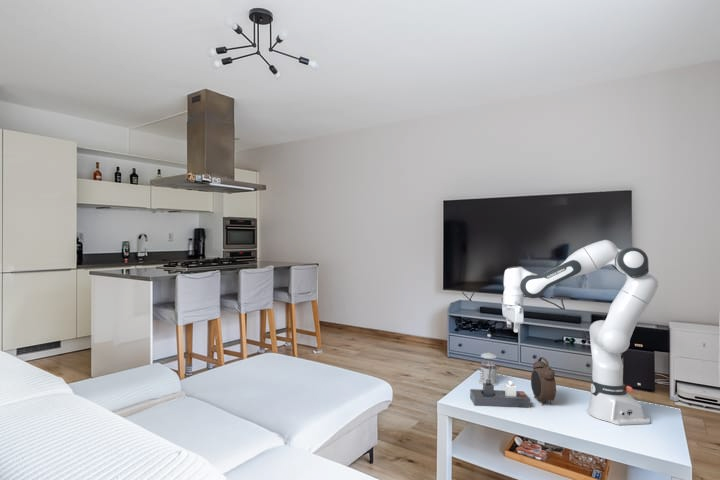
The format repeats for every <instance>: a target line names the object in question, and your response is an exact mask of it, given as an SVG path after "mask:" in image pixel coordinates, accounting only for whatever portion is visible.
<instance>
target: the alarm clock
mask: <svg viewBox="0 0 720 480" xmlns="http://www.w3.org/2000/svg"><path fill="white" fill-rule="evenodd" d="M542 360H543V361H542ZM532 368H533V369H532V371H531V375H530V377H531V378H530V386H531V391H532V393H533V396H534V397H533V398H534V399H536V400H537V401H540V402H541V406H542V407H543V406H544V402H549V404H550V405H552V402H553V401H554V400H555V398H556V395H557V385H556V379H555V376H556V375H555V373H556V372H555V370H554V369H553V368H551V367H550V365H549V361H548V359H546V357H544V356H540V357H539V358H537V361H534V362H533V366H532Z"/></svg>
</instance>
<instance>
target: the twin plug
mask: <svg viewBox="0 0 720 480" xmlns="http://www.w3.org/2000/svg"><path fill="white" fill-rule="evenodd" d="M482 390H483V395H494V390H495V386H493V384H491V380H489V379H487V380H486V383H483V385H482Z"/></svg>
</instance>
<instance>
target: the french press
mask: <svg viewBox="0 0 720 480" xmlns="http://www.w3.org/2000/svg"><path fill="white" fill-rule="evenodd" d="M486 336H487V337H488V338H491V337H492V335H491V333H488V334H487V335H486ZM480 357H481V358H483V359H486V360H487V361H482V362H481V365H480V375H479V376H480V379H479V380H478V384H480V385H481V386H483V383H486V380H487V379H489V380H491V384H493V386H494V387H496V386H498V385H499V383H498V382H497V366H496V363H494V362H493V361H490V360H495V359H497V358H498V357H497V355H496V354H494V353H491V352H483V353H481V354H480Z"/></svg>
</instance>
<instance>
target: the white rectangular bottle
mask: <svg viewBox="0 0 720 480" xmlns="http://www.w3.org/2000/svg"><path fill="white" fill-rule="evenodd" d="M504 386H505V387H504V391H505V395H506V396H516V391H517V386H516V385H515V384H514V381H513V380H511V379H510V380H508V384H507V383H506V384H504Z"/></svg>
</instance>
